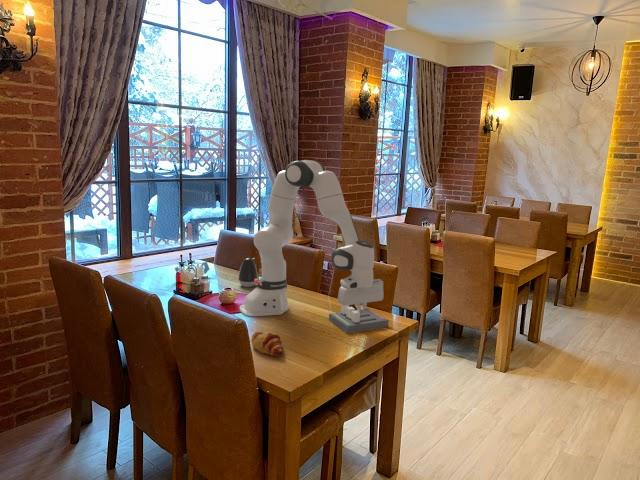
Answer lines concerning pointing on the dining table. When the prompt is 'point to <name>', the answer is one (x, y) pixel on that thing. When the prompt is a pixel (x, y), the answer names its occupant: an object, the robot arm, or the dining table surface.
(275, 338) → the croissant
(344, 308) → the breaker back
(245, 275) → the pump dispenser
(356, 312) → the breaker front
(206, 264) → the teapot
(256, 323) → the dining table surface
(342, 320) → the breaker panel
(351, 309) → the breaker middle
